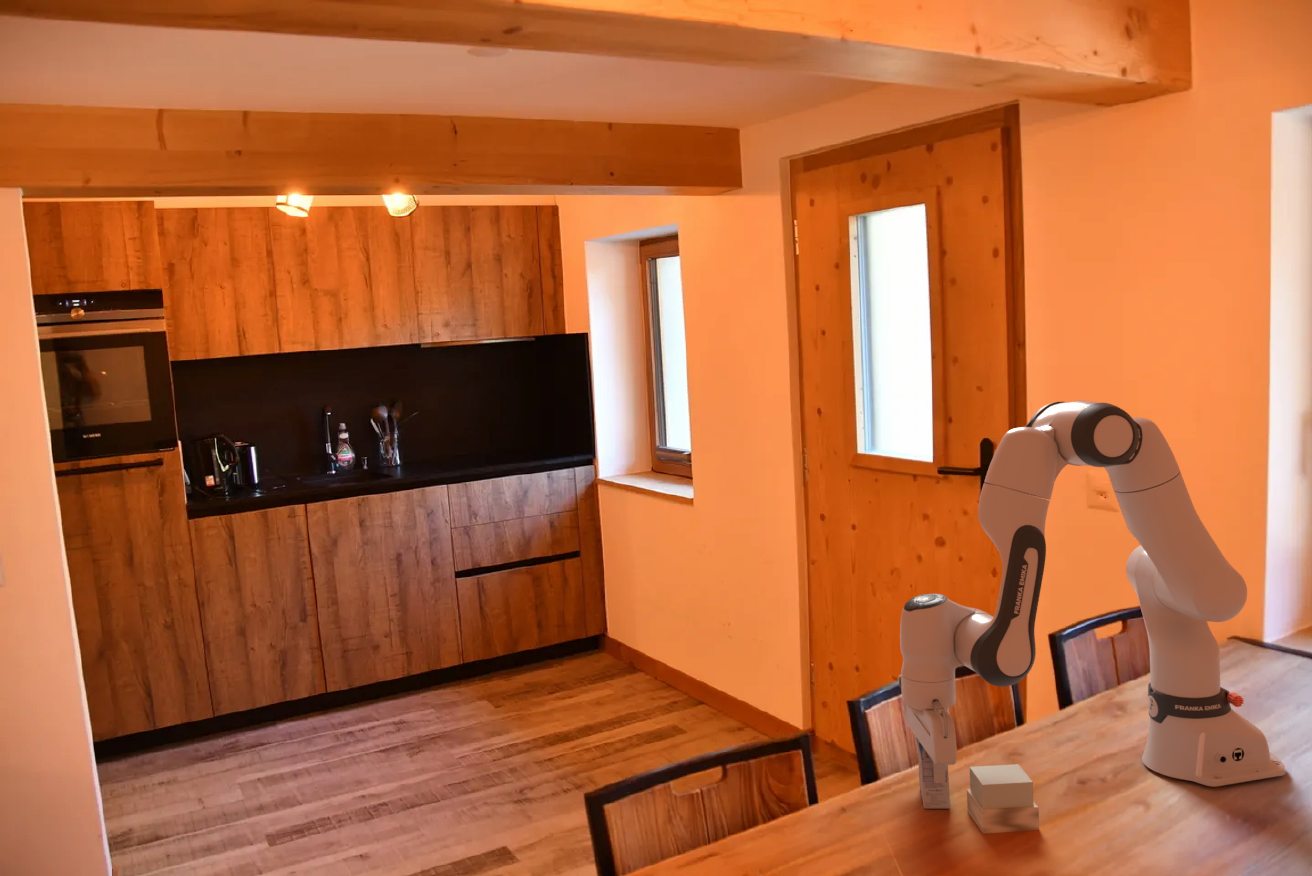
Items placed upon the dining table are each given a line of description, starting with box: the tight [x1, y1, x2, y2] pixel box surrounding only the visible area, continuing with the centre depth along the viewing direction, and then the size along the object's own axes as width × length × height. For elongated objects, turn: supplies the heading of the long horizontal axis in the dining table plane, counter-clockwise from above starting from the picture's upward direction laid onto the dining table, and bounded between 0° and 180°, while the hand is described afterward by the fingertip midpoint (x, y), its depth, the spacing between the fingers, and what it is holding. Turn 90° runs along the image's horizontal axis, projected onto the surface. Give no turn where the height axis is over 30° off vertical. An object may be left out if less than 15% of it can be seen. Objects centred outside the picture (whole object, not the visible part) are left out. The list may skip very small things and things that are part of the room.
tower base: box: [966, 788, 1040, 834], centre depth 171 cm, size 9×8×4 cm
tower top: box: [969, 763, 1035, 809], centre depth 170 cm, size 8×7×4 cm
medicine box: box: [917, 743, 951, 810], centre depth 179 cm, size 8×4×9 cm, turn 171°
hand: (931, 769), depth 179 cm, fingers closed on medicine box, 8 cm apart
